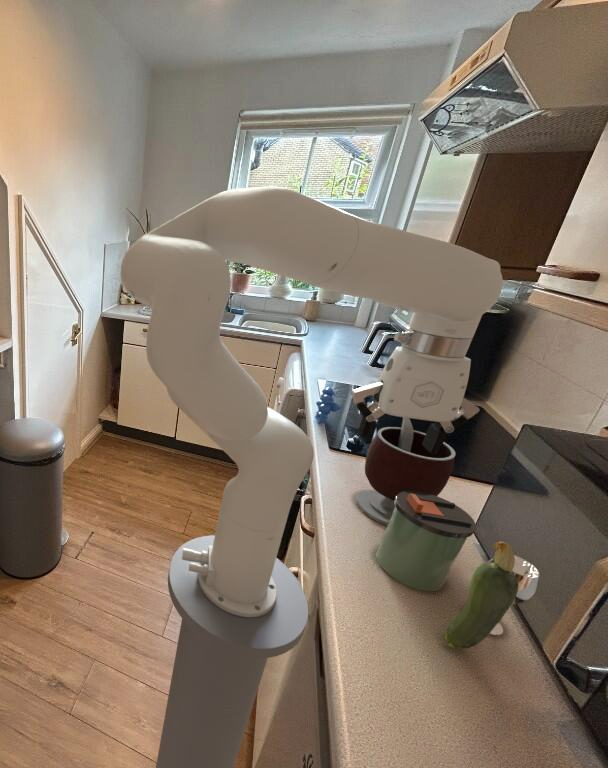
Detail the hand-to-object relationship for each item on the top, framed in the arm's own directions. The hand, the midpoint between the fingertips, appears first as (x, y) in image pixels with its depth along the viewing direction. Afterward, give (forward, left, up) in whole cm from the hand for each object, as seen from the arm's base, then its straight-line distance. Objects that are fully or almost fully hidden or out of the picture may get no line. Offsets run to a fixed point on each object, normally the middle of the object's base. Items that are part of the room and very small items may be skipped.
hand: (396, 444), depth 66 cm
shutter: (+8, 0, -11) cm, 13 cm away
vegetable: (+9, -16, -24) cm, 30 cm away
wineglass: (+16, -9, -24) cm, 31 cm away
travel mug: (+9, 0, -24) cm, 26 cm away
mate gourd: (+12, +18, -24) cm, 33 cm away
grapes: (+9, +59, -24) cm, 64 cm away
